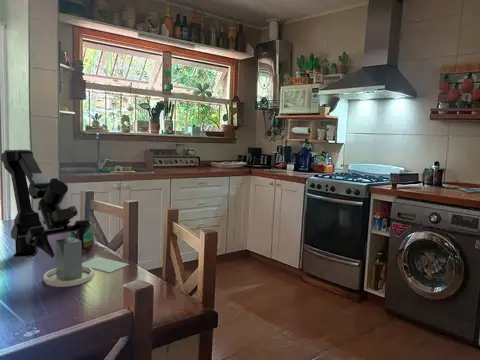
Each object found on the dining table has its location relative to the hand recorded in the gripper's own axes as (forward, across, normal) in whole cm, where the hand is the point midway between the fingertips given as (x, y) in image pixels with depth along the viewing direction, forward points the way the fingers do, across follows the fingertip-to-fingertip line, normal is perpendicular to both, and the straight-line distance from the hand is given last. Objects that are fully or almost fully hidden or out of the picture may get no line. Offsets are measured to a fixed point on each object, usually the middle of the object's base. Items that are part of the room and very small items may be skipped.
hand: (68, 253), depth 121 cm
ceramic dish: (+6, 0, +6) cm, 8 cm away
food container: (-12, +19, +24) cm, 33 cm away
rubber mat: (+4, +14, +8) cm, 16 cm away
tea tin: (+6, 0, +5) cm, 8 cm away
